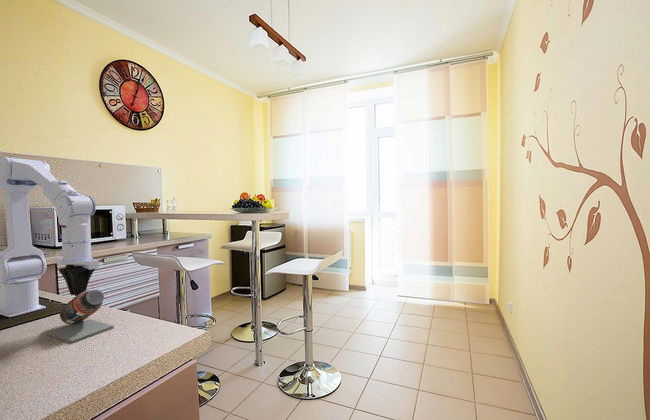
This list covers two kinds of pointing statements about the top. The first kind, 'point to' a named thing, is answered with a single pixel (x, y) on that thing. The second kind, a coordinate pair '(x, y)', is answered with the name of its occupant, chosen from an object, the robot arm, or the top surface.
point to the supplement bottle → (81, 306)
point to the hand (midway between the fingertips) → (77, 294)
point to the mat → (80, 331)
